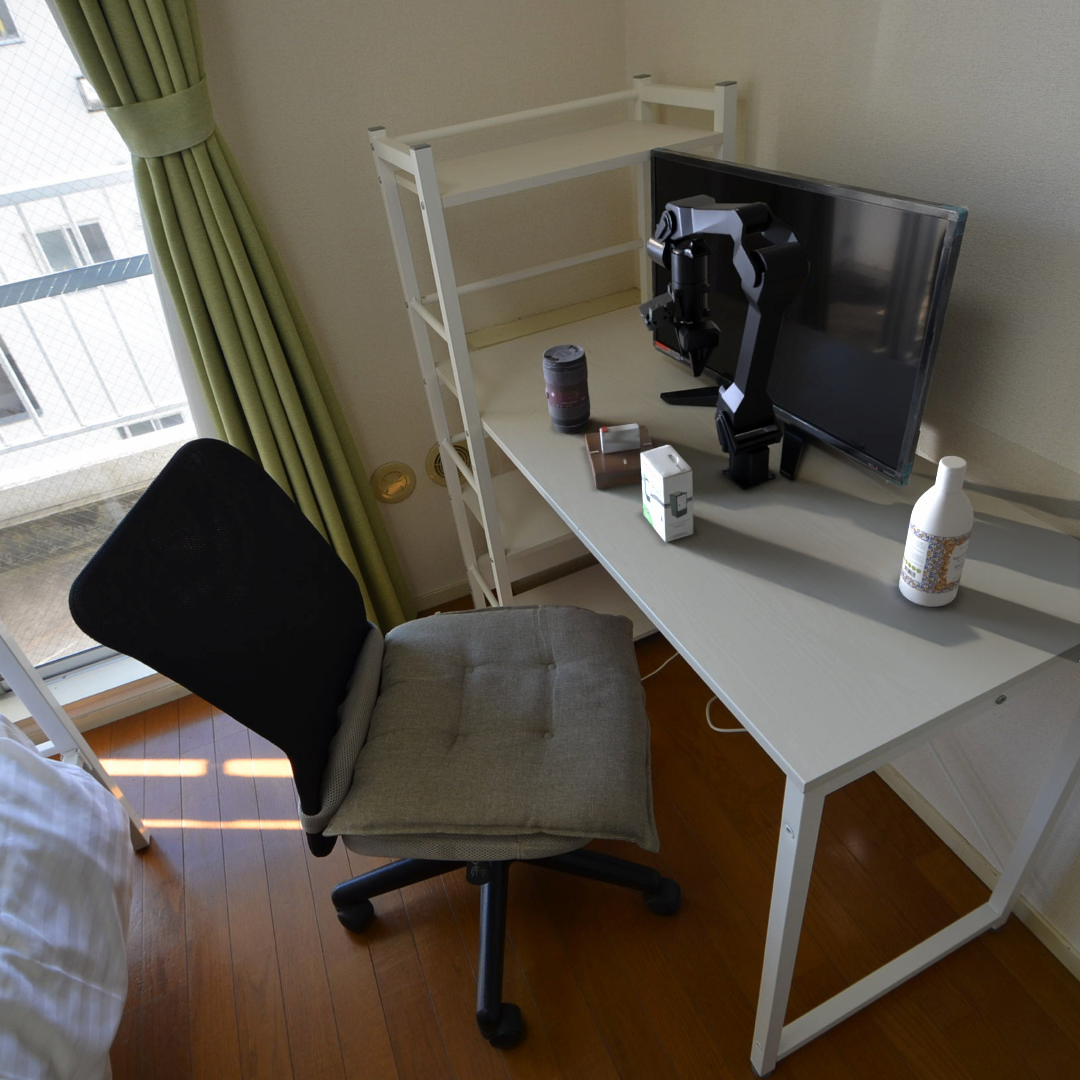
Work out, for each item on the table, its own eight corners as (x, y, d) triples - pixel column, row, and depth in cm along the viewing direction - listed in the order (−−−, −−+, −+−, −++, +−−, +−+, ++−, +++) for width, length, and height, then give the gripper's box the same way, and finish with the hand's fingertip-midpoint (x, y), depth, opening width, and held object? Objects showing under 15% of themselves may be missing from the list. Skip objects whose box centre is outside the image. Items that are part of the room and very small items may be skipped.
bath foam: (934, 616, 102) (963, 484, 90) (887, 590, 107) (908, 462, 95) (967, 591, 105) (999, 461, 93) (919, 567, 110) (944, 440, 98)
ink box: (642, 514, 128) (638, 450, 121) (670, 505, 129) (668, 442, 122) (664, 543, 121) (662, 477, 114) (694, 534, 122) (693, 468, 115)
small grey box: (638, 443, 140) (637, 421, 138) (640, 448, 139) (639, 426, 136) (601, 448, 140) (599, 427, 138) (603, 453, 139) (601, 432, 136)
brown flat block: (660, 479, 135) (660, 463, 134) (596, 489, 136) (594, 473, 134) (645, 439, 147) (644, 424, 145) (586, 448, 147) (584, 433, 145)
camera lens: (571, 439, 150) (562, 365, 141) (542, 427, 155) (532, 355, 146) (601, 422, 154) (594, 349, 145) (572, 411, 159) (564, 339, 150)
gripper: (631, 267, 140) (636, 351, 149) (651, 305, 125) (655, 395, 134) (694, 258, 140) (695, 342, 149) (722, 294, 125) (721, 385, 134)
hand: (690, 365), depth 142 cm, fingers open, 9 cm apart
